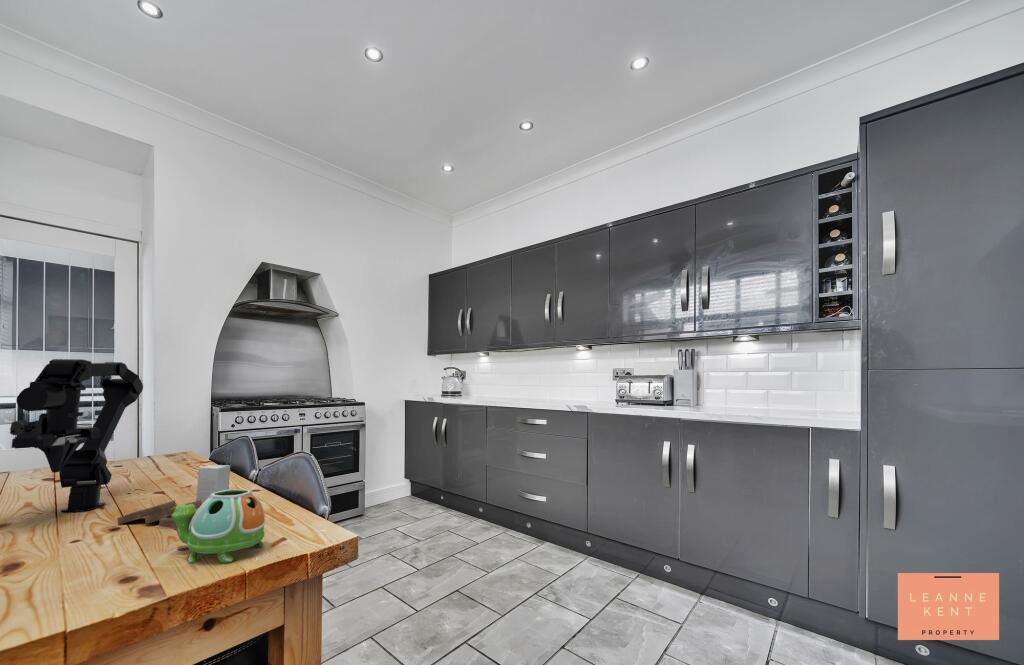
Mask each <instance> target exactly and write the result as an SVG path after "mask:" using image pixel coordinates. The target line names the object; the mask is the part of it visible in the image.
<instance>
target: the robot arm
mask: <svg viewBox="0 0 1024 665" xmlns="http://www.w3.org/2000/svg"><path fill="white" fill-rule="evenodd" d="M116 376H117V377H120V378H110V377H116ZM92 377H102V379H101V380H100V383H99V385H100V386H101V389H102V390H103V392H102V396H103V398H104V405H103V406H102V408H101V410H100V412H99V414H98V416H97V418H96V420H95V422H94V424H93V425H92V427H78V420H79V419H78V418H79V417H84V412H83V411H80V401H81V394H82V391H86V390H87V387H86V386H85V385H84V384H82V382H85V381H87V380H90V379H91V378H92ZM143 389H144V384H143V382H142V380H141V378H140V376H139V375H138V374H137V373H135V372H134V371H132V370H131V369H129V368H128V366H127V364H126V363H124V362H121V361H119V362H118V361H115V362H114V361H107V362H92V361H91V360H86V359H79V358H78V359H77V358H76V359H75V358H73V359H71V358H70V359H69V358H68V359H66V358H53V359H50V360H49V362H48V363H47V364H46V365H45V366H44V368H42V370H41V372H40V373H39V375H38V376H37V377H36V378H35V380H34V381H29V386H28V387H26V388H24V389H22V390H21V391H20V392H19V394H18V395H17V397H16V404H17V406H18V407H19V408H20V409H21V410H23V411H27V412H39V411H45V413H44V412H43V413H40V414H39V417H38V420H34V421H29V422H28V421H27V420H25V419H22V420H20V419H19V420H16V421H13V422H11V425H10V428H9V434H10V435H11V436H15V437H13V439H11V445H10V448H12V449H18V448H20V449H22V448H25V449H26V448H34V449H39V450H40V451H41V452H43V453H44V455H45V457H46V460H47V462H48V465H49V468H50V470H51V473H53V474H54V473H58V475H59V481H60V486H61V487H60V488H61V489H64V488H69V495H68V498H67V500H68V501H67V507H66V508H64V509H61V510H60V513H68V512H70V513H71V512H87V511H91V510H94V509H96V508H99V507H102V506H105V505H106V502H100V498H101V497H100V496H101V488H102V486H104V485H105V486H106V485H108V484H109V483H110V482H111V479H112V476H113V474H112V473H111V471H110V470H109V468H108V466H107V463H108V459H107V456H106V453H105V452H106V449H107V447H108V445H109V442H110V441H111V439H112V436H113V435H114V432H115V431H116V428H117V426H118V424H119V422H120V420H121V418H122V417H123V414H124V412H125V410H126V408H127V407H129V406H131V405H132V404H134V403H135V402H136V401H137V400H138V398H139V396H140V395H141V394H142V392H143ZM78 439H85V440H84V443H83V441H78ZM80 445H82V447H80V448H79V449H78V447H79V446H80Z"/></svg>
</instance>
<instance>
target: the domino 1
mask: <svg viewBox="0 0 1024 665" xmlns="http://www.w3.org/2000/svg"><path fill="white" fill-rule="evenodd" d="M175 507H177V504H176V500H171V501H168V502H164V503H160V504H157V505H154V506H150V507H147V508H143V509H140V510H136V511H133V512H130V513H127V514H125V515H122V516H119V517H117V518H116V519H117V525H118V526H119V525H123V524H125V523H129V522H132V521H135V520H139V519H143V518H145V517H147V516H150V515H153V514H156V513H159V512H163V511H166V510H169V509H172V508H175Z"/></svg>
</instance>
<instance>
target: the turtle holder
mask: <svg viewBox="0 0 1024 665" xmlns="http://www.w3.org/2000/svg"><path fill="white" fill-rule="evenodd" d="M247 499H249V501H247ZM184 504H185V503H180V504H178V505H176V508H175V507H174V508H175V511H174V513H173V514H172V519H173V520H174V521H175V523H176V526H177V530H176V533H177V536H178V539H179V540H180V541H181V542H182V543H184V544H186V545H187V548H188V549H189V550H190V554H189V556H188V558H187V562H188V563H189V564H191V563H192V564H194V563H196V562H197V561H198V557H199V554H209V555H210V554H212V555H213V554H217V558H218V561H219V562H220V563H225V564H226V563H227V564H228V563H232V562H233V561H234V558H233V557H232V556H231V555H230V554H229V553H230V552H235V551H240V550H243V549H246V548H251V547H253V548H256V549H257V548H263V547H265V543H264V542H263V541H262V540H263V539H264V537H265V531H264V528H265V524H266V512H265V509H264V506H263V504H262V502H261V500H260V499H259V498H258V497H257V496H256V494H254V493H253V492H252V490H251V489H243V488H242V489H241V488H240V489H239V488H238V489H236V488H235V489H229V490H223V491H219V492H215V493H212V494H211V495H210V497H209V498H208V499H207V500H206V501H205V502H204V503H203V504H202V505H201V506H200V507H199V509H198V510H197V512H195V511H196V509H195V505H193V504H189V505H184Z"/></svg>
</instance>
